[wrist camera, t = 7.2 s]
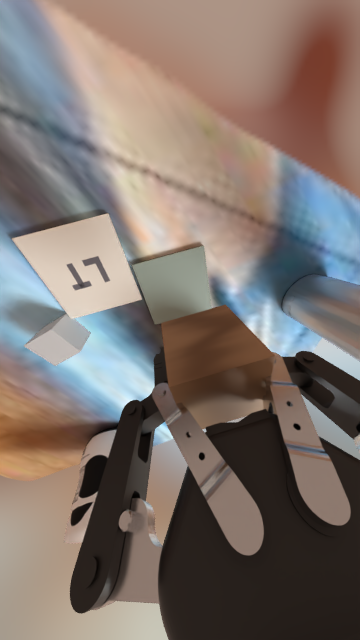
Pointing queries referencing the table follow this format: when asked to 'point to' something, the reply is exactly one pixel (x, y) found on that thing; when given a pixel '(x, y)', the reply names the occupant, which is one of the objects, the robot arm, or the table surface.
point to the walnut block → (215, 365)
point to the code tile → (82, 265)
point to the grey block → (59, 340)
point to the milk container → (88, 484)
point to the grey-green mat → (175, 284)
